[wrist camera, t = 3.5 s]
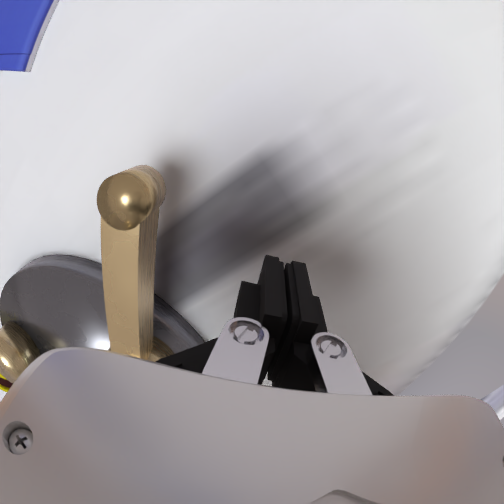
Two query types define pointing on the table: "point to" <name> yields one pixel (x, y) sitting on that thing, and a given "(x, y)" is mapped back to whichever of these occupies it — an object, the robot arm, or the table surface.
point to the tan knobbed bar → (131, 259)
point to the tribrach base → (68, 313)
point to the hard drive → (22, 31)
